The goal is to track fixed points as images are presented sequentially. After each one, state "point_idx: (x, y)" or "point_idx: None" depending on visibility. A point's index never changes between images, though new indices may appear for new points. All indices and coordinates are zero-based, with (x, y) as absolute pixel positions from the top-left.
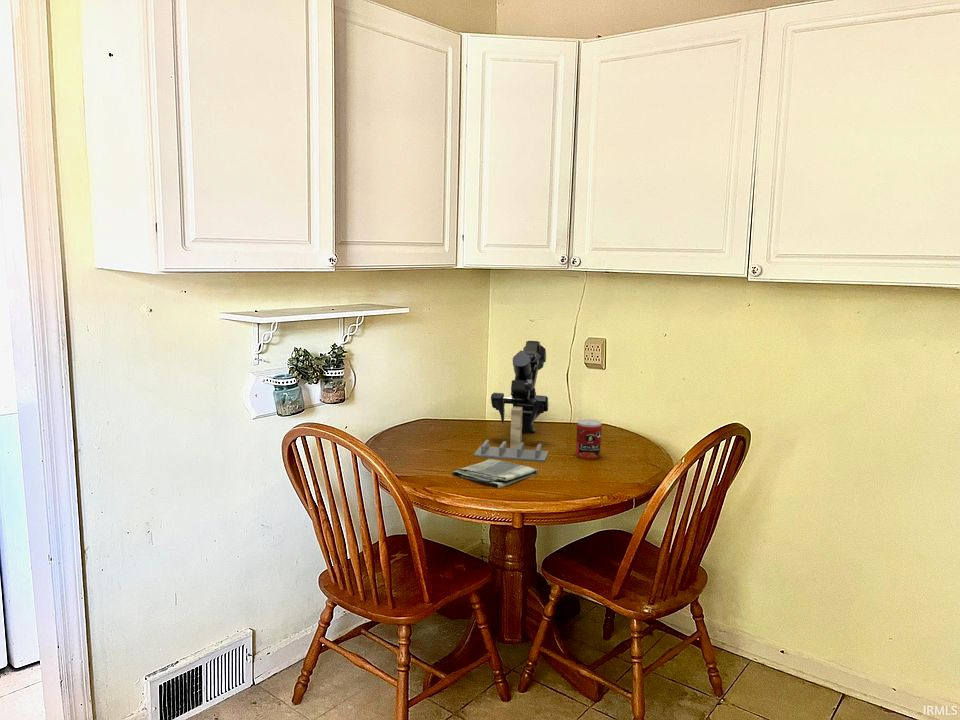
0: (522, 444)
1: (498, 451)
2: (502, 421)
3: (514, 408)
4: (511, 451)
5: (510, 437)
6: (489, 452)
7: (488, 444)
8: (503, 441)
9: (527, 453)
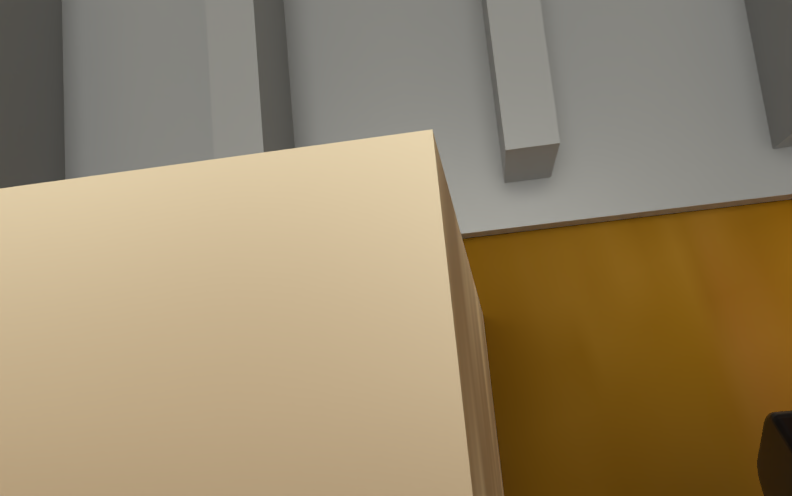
0: (216, 72)
1: (568, 11)
2: (787, 417)
3: (298, 415)
4: (399, 87)
5: (478, 300)
6: None
7: (785, 73)
8: (549, 110)
9: (180, 85)
